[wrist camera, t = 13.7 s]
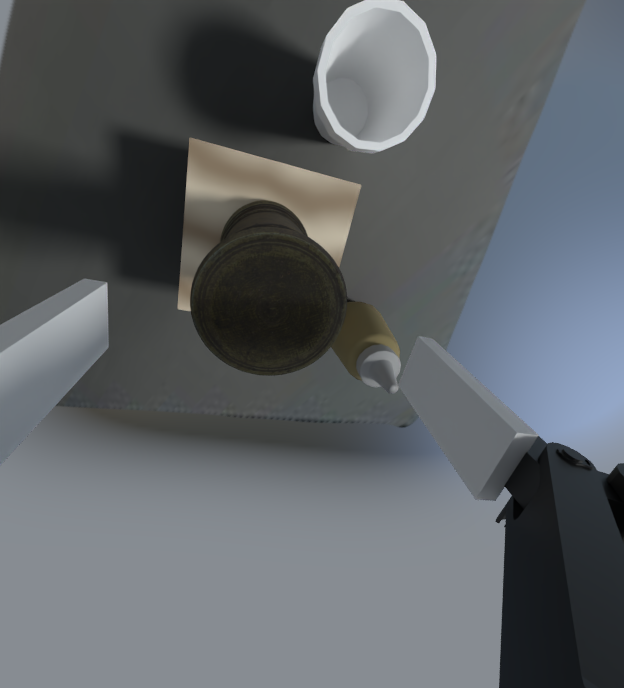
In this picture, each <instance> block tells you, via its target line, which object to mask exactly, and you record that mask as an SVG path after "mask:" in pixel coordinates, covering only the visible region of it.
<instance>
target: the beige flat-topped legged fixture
mask: <svg viewBox="0 0 624 688" xmlns="http://www.w3.org/2000/svg"><path fill="white" fill-rule="evenodd" d="M360 188H361V185H359V184H356V183H352V182H348V181H345V180H341V179H338V178H334V177H330V176H327V175H323V174H320V173H316V172H312V171H309V170H305V169H302V168H298V167H294V166H291V165H287V164H284V163H280V162H276V161H273V160H269V159H266V158H262V157H258V156H255V155H251V154H248V153H244V152H240V151H237V150H233V149H230V148H226V147H222V146H219V145H215V144H212V143H208V142H204V141H201V140H197V139H194V138H190V139H189V153H188V167H187V182H186V196H185V210H184V224H183V239H182V253H181V267H180V281H179V295H178V309H180V310H186V311H191V308H190V294H191V287H192V282H193V279H194V276H195V273H196V271H197V269H198V267H199V265H200V264H201V262H202V260H203V259H204V258H205V256H206V255H207V254H208V253H209V252H210V251H211V250H212V249H213V248H214V247H215V246H216V245H217V244H218V243H220V239H221V234H222V231H223V229H224V226H225V224H226V223H227V221H228V219H229V218H230V217H231V216H232V214H233V213H234V212H236V211H237V210H238V209H239V208H241V207H242V206H244V205H246V204H249V203H251V202H255V201H260V200H268V201H273V202H277V203H279V204H282V205H283V206H285V207H287V208H288V209H289V210H291V211H292V212H293V213H294V214H295V215H296V216H297V217H298V218H299V220H300V221H301V223H302V224H303V226H304V228H305V230H306V233H307V235H308V237H309V238H311V239H312V240H314V241H315V242H317V243H318V244H319V245H321V246H322V247H323V248H324V249H325V250H326V251H327V252H328V253H329V254H330V255H331V257H332V258H333V259H334V261H335V262H336V264H337V265H338V267H339V266H340V262H341V259H342V255H343V251H344V247H345V244H346V240H347V236H348V233H349V229H350V225H351V222H352V218H353V214H354V210H355V207H356V203H357V199H358V196H359V192H360Z"/></svg>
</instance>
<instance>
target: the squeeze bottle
mask: <svg viewBox="0 0 624 688" xmlns="http://www.w3.org/2000/svg"><path fill="white" fill-rule="evenodd" d="M331 347H332V349H333V350H334V352H335V353H336V355H337V356H338V357H339V359H340V360H341V362H342V363H343V365H344V366H345V367H346V369H347V370H348V372H349V373H350V374H351V375H352V376H353V377H355V378H356V379H358V380H362V381H363V382H364V383H365V384H367V385H368V386H372V387H383V388H384V389H385V390H386V391H387V392H388V393H391V394H392V393H395V392H396V391H397V390H398V384H397V380H396V377H397V375H398V374H399V372H400V367H401V363H400V360H399V355H400V349H399V347H398V344H397V341H396V340H395V338H394V336H393V335H392V333H391V331H390V329H389V328H388V326H387V324H386V323H385V321H384V319H383V317H382V316H381V314H380V312H378V311H377V310H376V309H375V308H374V307H373V306H372V305H369V304H366V303H363V302H347V310H346V315H345V319H344V323H343V326H342V328H341V331H340V333H339V335H338V336H337V338H336V340H335V342H334V343H333V344H332V346H331Z"/></svg>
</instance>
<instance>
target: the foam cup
mask: <svg viewBox="0 0 624 688" xmlns="http://www.w3.org/2000/svg"><path fill="white" fill-rule="evenodd" d="M435 81H436V53H435V50H434V47H433V44H432V41H431V38H430V35H429V32H428V29H427V26H426V24H425V22H424V21H423V20H422V19H421V18H420V17H419V16H418V15H417V14H416V13H415V12H414V11H413V10H412V9H411V8H410V7H409V6H408V5H407V4H406V3H405V2H404V1H399V0H364V1H362V2H360V3H358V4H355V5H353V6H351V7H349V8H347V9H346V10H345V12H344V13H343V14H342V16H341V17H340V18H339V20H338V21H337V22H336V24H335V25H334V26H333V28H332V29H331V30H330V32H329V33H328V34H327V35H326V38H325V40H324V42H323V44H322V46H321V50H320V53H319V57H318V61H317V65H316V69H315V73H314V77H313V86H314V100H313V114H314V123H315V125H316V127H317V129H318V131H319V133H320V135H321V136H322V137H323V138H325V139H326V140H327V141H329V142H330V143H331V144H335V145H339V146H343V147H345V148H346V149H348V150H349V151H357V152H365V153H375V152H379V151H382V150H384V149H387V148H389V147H391V146H394V145H396V144H398V143H401V142H403V141H405V140H406V139H407V137H408V136H409V135H410V134H411V133H412V132H413V131H414V130H415V128H416V127H417V126H418V125H419V124H420V123H421V122H422V121H423V119H424V117H425V115H426V112H427V109H428V107H429V104H430V101H431V99H432V96H433V94H434V91H435Z"/></svg>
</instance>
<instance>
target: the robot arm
mask: <svg viewBox="0 0 624 688" xmlns="http://www.w3.org/2000/svg"><path fill="white" fill-rule="evenodd" d="M108 347H109V339H108V295H107V282H102V281H96V280H90V279H83V280H81V281H79V282H77V283H75V284H74V285H72V286H70V287H68V288H66V289H65V290H63V291H61V292H59V293H57V294H55V295H54V296H52V297H50V298H48V299H46V300H45V301H43V302H41V303H39V304H37V305H35V306H34V307H32V308H30V309H28V310H26V311H25V312H23V313H21V314H19V315H17V316H16V317H14V318H12V319H10V320H8V321H6V322H5V323H3V324H1V325H0V465H1V464H2V463H3V462H4V461H5V460H6V459H7V458H8V457H9V456H10V454H11V453H12V452H13V451H14V450H15V449H16V448H17V447H18V445H20V443H21V442H22V441H23V440H24V439H25V438H26V437H27V436H28V435H29V434H30V433H31V432H32V430H33V429H34V428H35V427H36V426H37V425H38V424H39V423H40V421H42V419H43V418H44V417H45V416H46V415H47V414H48V413H49V412H50V411H51V410H52V409H53V408H54V406H55V405H56V404H57V403H58V402H59V401H60V400H61V399H62V398H63V397H64V395H65V394H66V393H67V392H68V391H69V390H70V389H71V388H72V387H73V386H74V385H75V383H76V382H77V381H78V380H79V379H80V378H81V377H82V376H83V375H84V374H85V373H86V371H87V370H88V369H89V368H90V367H91V366H92V365H93V364H94V363H95V362H96V361H97V359H98V358H99V357H100V356H101V355H102V354H103V353H104V352H105V351H106V350H107V348H108ZM398 386H399V387H400V389H401V390H402V392H403V393H404V395H405V396H406V398H407V399H408V401H409V402H410V404H411V405H412V407H413V408H414V410H415V411H416V413H417V414H418V416H419V417H420V418H421V420H422V421H423V423H424V424H425V426H426V427H427V429H428V430H429V432H430V433H431V435H432V436H433V438H434V439H435V440H436V442H437V443H438V445H439V446H440V448H441V449H442V451H443V452H444V454H445V455H446V457H447V458H448V460H449V461H450V463H451V464H452V466H453V467H454V469H455V470H456V472H457V473H458V474H459V476H460V477H461V479H462V480H463V482H464V483H465V485H466V486H467V488H468V489H469V491H470V492H471V494H472V495H473V496H474V498H475V499H476V500H494V501H496V499H497V497H498V496H499V495H500V493H501V492H502V490H503V489H504V487H506V488H507V490H508V491H509V492H510V493H511V495H512V497H511V498H510V500H509V501H508V502H507V504H506V505H505V507H504V508H503V510H502V511H501V513H500V514H499V516H498V517H497V519H496V522H497V523H500V521H501V520H502V519H506V525H505V526H504V527H506V528H505V553H504V579H503V605H502V629H501V655H500V679H499V680H500V682H499V688H624V463H623V464H618V465H617V466H616V467H615V468H614V470H613V471H612V472H611V473H610V474H606V473H603V472H599V471H597V470H596V468H595V467H594V465H593V464H592V463H591V462H590V461H589V460H588V459H587V458H585V457H584V456H582V455H581V454H580V453H578V452H577V451H575V450H573V449H571V448H569V447H567V446H564V445H561V444H559V443H553V442H552V443H548V444H547V443H546V442H545V441H543V440H542V439H541V438H540V437H539V436H538V434H536V432H535V431H533V430H532V429H531V428H530V427H529V426H528V425H527V424H526V423H524V421H523V420H521V419H520V418H519V417H518V416H517V415H516V414H515V413H514V412H513V411H511V410H510V409H509V408H508V407H507V406H506V405H505V404H504V403H503V402H502V401H501V400H499V399H498V398H497V397H496V396H495V395H494V394H493V393H492V392H491V391H490V390H488V389H487V388H486V387H485V386H484V385H483V384H482V383H481V382H480V381H479V380H477V379H476V378H475V377H474V376H473V375H472V374H471V373H470V372H469V371H467V370H466V369H465V368H464V367H463V366H462V365H461V364H460V363H459V362H457V360H455V359H454V358H453V357H452V356H451V355H450V354H449V353H448V352H447V351H446V350H444V349H443V348H442V347H441V346H440V345H439V344H438V343H437V342H436V341H435V340H433V339H432V338H427V337H421V336H418V337H417V340H416V342H415V345H414V347H413V349H412V352H411V354H410V357H409V359H408V362H407V364H406V367H405V369H404V372H403V374H402V377H401V379H400V382H399V384H398Z"/></svg>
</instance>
